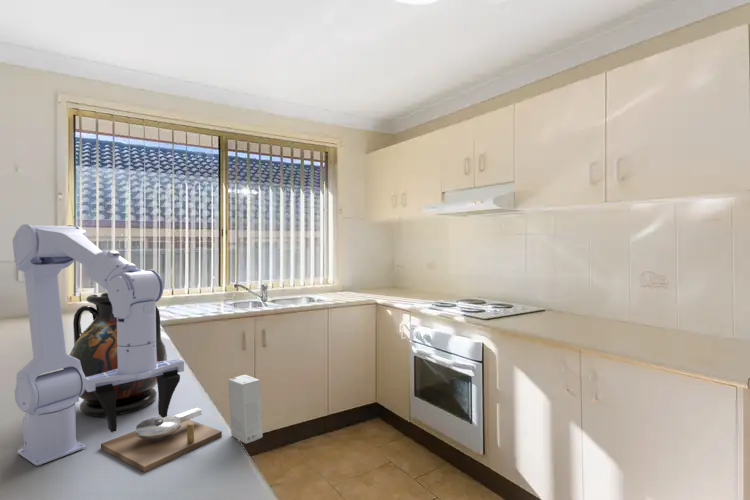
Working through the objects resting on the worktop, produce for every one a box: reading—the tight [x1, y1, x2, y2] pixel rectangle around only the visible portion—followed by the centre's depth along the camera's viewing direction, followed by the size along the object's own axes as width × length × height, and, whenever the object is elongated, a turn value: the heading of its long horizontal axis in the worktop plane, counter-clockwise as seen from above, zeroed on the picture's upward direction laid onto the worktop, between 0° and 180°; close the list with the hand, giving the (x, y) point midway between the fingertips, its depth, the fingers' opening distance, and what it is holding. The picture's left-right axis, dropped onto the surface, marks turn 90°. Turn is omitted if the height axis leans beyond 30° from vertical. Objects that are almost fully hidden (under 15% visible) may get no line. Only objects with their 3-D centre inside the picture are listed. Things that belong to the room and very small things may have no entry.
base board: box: [100, 419, 223, 473], centre depth 84 cm, size 16×16×4 cm
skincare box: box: [227, 374, 264, 444], centre depth 86 cm, size 6×4×12 cm
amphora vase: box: [69, 292, 168, 418], centre depth 104 cm, size 22×22×28 cm
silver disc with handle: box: [135, 407, 202, 439], centre depth 86 cm, size 13×8×2 cm, turn 147°
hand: (138, 422), depth 70 cm, fingers open, 7 cm apart
